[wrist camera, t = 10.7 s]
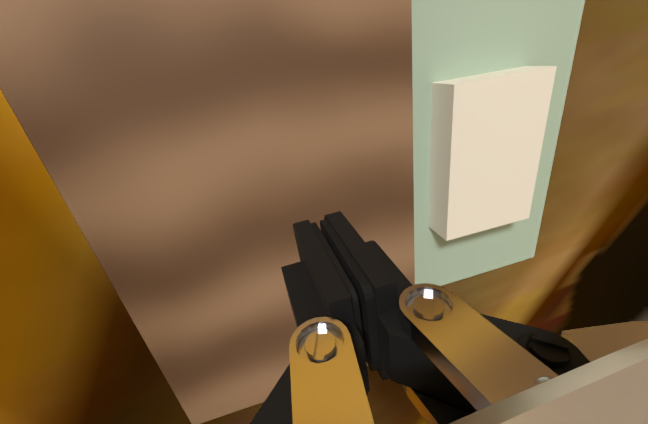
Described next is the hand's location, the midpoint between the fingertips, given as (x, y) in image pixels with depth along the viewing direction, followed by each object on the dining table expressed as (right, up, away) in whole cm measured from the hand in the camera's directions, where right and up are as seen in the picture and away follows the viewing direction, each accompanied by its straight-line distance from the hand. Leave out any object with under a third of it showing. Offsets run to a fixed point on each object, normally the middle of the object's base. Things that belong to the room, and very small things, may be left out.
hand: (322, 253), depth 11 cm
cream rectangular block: (+10, +4, +7) cm, 13 cm away
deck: (-3, +2, +7) cm, 8 cm away
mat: (+10, +5, +9) cm, 14 cm away
